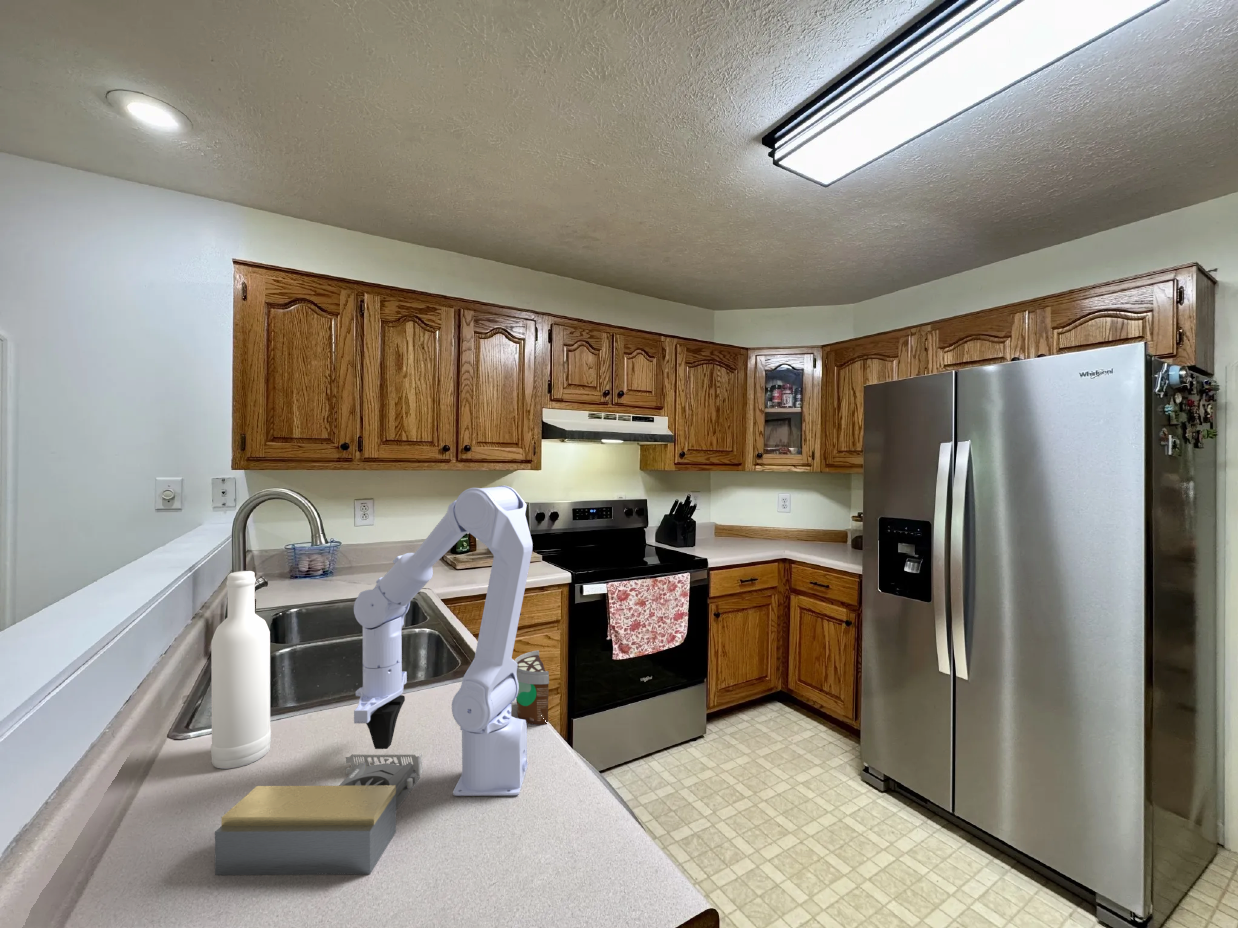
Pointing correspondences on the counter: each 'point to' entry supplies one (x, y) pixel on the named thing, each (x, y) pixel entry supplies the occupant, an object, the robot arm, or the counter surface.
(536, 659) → the food container
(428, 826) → the counter surface
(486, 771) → the robot arm
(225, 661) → the bottle
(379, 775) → the graphics card
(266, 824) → the grey flat box
